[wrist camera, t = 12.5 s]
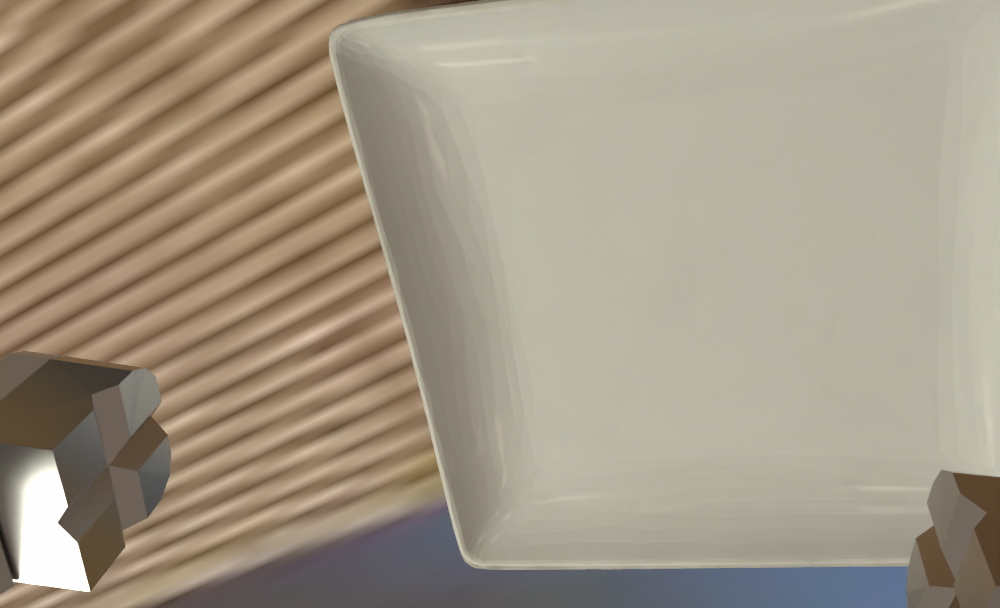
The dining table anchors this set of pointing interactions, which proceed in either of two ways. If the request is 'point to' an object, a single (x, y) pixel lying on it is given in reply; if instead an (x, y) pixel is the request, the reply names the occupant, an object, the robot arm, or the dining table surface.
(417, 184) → the square plate
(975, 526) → the robot arm
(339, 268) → the dining table surface
